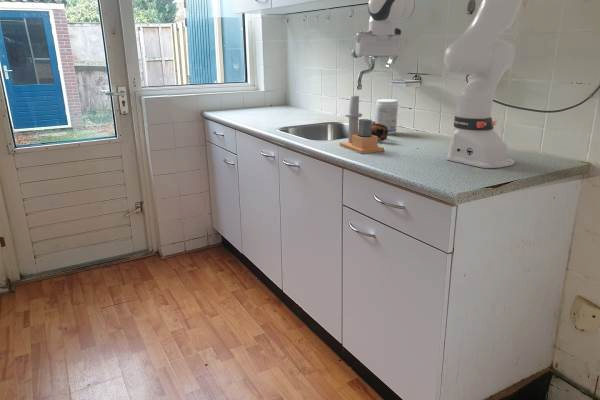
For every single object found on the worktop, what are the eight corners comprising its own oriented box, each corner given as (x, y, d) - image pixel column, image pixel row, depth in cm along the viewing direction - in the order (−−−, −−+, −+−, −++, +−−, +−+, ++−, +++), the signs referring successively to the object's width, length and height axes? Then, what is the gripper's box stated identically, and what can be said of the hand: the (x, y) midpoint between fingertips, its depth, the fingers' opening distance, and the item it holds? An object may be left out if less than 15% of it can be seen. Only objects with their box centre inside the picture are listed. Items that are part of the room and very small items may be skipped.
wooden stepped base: (383, 150, 168) (386, 98, 162) (360, 153, 164) (362, 100, 158) (359, 142, 183) (361, 94, 177) (338, 145, 179) (338, 96, 173)
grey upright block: (370, 146, 170) (371, 120, 166) (362, 147, 168) (363, 120, 165) (365, 144, 173) (366, 119, 169) (358, 145, 171) (358, 119, 168)
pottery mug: (359, 141, 188) (364, 123, 189) (376, 149, 192) (380, 131, 193) (377, 138, 177) (382, 119, 178) (394, 147, 182) (399, 128, 183)
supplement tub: (376, 130, 208) (378, 98, 204) (397, 131, 205) (399, 99, 201) (373, 134, 200) (374, 101, 195) (394, 135, 197) (396, 101, 192)
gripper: (361, 30, 166) (360, 69, 170) (406, 30, 174) (404, 67, 178) (352, 30, 171) (351, 68, 176) (396, 31, 179) (395, 67, 183)
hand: (378, 68), depth 177 cm, fingers open, 8 cm apart
